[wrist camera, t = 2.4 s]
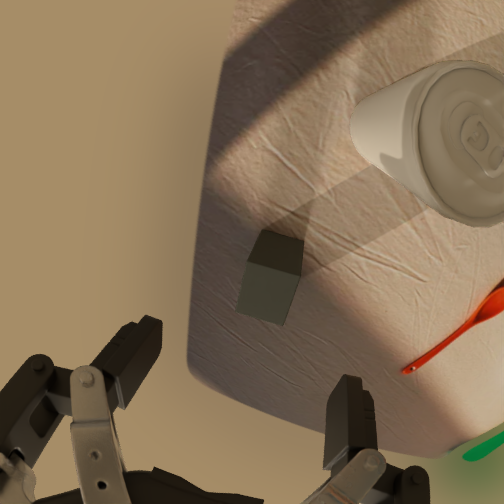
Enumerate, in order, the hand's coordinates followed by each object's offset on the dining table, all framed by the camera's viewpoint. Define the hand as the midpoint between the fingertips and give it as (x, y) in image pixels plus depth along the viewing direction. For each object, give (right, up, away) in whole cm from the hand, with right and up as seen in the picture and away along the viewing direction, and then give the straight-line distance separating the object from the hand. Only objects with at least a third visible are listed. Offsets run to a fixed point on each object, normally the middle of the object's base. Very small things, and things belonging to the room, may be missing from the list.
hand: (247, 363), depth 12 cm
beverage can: (+9, +12, +4) cm, 16 cm away
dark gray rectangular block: (+2, +4, +9) cm, 10 cm away
